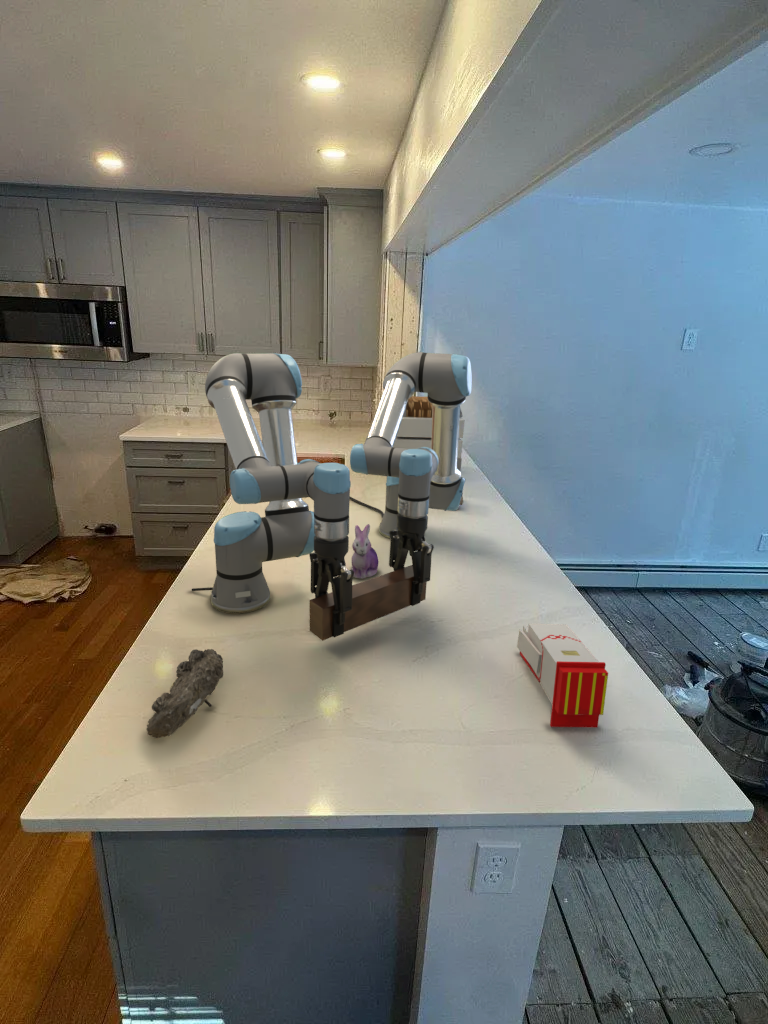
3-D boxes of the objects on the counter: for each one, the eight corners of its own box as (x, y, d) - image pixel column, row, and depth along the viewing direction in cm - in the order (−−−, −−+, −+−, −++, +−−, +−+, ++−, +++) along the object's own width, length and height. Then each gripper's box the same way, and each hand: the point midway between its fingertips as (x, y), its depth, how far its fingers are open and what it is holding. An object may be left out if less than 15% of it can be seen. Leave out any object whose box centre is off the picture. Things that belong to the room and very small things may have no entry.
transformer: (382, 463, 289) (386, 382, 275) (445, 464, 293) (451, 384, 279) (390, 482, 257) (394, 392, 243) (460, 483, 261) (468, 394, 247)
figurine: (357, 582, 163) (358, 534, 158) (342, 568, 171) (343, 521, 166) (386, 576, 167) (388, 529, 162) (370, 563, 176) (372, 517, 171)
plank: (322, 641, 126) (322, 609, 123) (309, 631, 129) (309, 599, 127) (425, 599, 146) (427, 571, 143) (411, 591, 149) (413, 564, 147)
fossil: (175, 650, 120) (224, 619, 115) (206, 680, 123) (256, 650, 118) (122, 731, 101) (179, 697, 96) (161, 764, 104) (219, 733, 99)
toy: (562, 608, 134) (617, 669, 105) (557, 660, 137) (609, 734, 107) (511, 607, 134) (552, 667, 104) (507, 659, 136) (545, 733, 107)
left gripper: (293, 526, 126) (294, 618, 134) (342, 553, 113) (340, 653, 121) (321, 519, 131) (321, 608, 139) (371, 544, 118) (368, 641, 126)
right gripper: (376, 506, 141) (373, 589, 149) (428, 528, 128) (421, 618, 136) (398, 501, 146) (394, 582, 154) (450, 521, 133) (443, 609, 141)
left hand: (330, 629), depth 130 cm, fingers closed on plank, 5 cm apart
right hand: (407, 599), depth 145 cm, fingers closed on plank, 5 cm apart
